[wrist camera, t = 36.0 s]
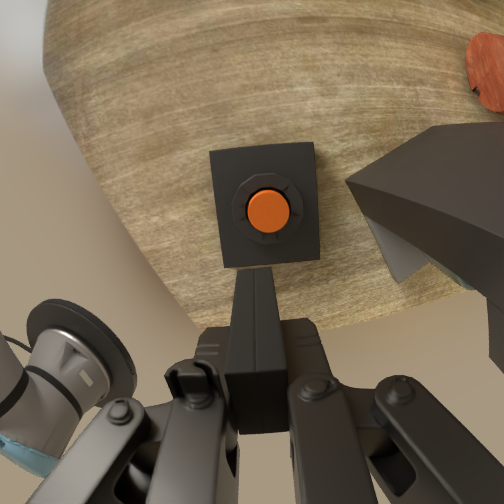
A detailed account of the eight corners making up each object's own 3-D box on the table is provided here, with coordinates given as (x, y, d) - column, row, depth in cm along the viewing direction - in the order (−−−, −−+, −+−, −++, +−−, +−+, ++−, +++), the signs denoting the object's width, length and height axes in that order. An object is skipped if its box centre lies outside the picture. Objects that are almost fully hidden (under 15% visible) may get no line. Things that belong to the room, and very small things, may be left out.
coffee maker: (468, 223, 29) (604, 298, 6) (393, 279, 32) (511, 420, 9) (432, 126, 25) (607, 130, 3) (344, 180, 28) (535, 254, 5)
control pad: (226, 261, 31) (222, 275, 27) (212, 151, 27) (205, 150, 24) (315, 252, 31) (323, 266, 27) (309, 142, 27) (317, 140, 23)
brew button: (250, 229, 26) (249, 234, 25) (246, 191, 25) (245, 193, 24) (288, 226, 26) (290, 230, 25) (285, 188, 25) (287, 190, 23)
